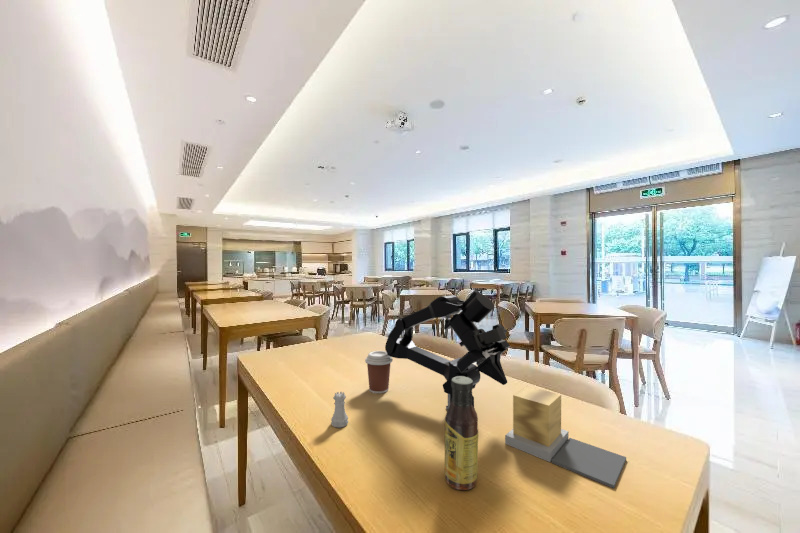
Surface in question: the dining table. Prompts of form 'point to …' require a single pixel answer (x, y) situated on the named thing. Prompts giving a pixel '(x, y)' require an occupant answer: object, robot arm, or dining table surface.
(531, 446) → the block
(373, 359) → the coffee cup
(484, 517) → the dining table surface
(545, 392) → the ochre block
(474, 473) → the sauce bottle
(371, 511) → the dining table surface
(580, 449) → the rubber pad
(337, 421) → the rook chess piece
